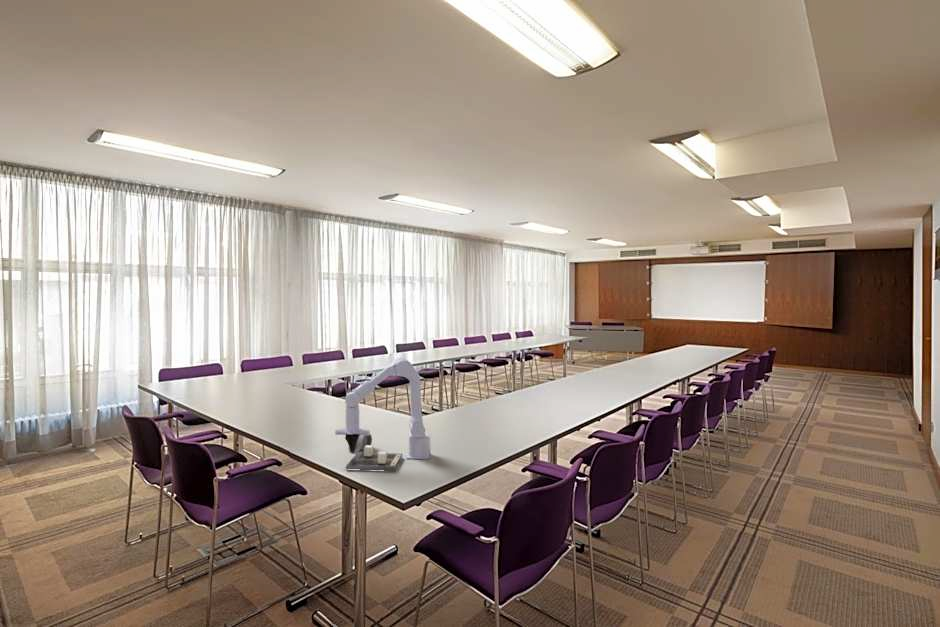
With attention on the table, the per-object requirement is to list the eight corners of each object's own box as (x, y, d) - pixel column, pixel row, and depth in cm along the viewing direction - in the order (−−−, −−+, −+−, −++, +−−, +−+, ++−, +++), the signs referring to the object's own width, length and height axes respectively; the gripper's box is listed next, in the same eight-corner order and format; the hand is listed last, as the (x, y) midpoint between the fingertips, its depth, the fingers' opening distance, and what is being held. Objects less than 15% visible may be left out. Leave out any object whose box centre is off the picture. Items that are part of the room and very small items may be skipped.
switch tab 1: (372, 454, 202) (372, 445, 202) (371, 456, 199) (371, 447, 199) (366, 453, 202) (366, 445, 202) (364, 456, 199) (364, 447, 199)
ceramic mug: (357, 445, 222) (357, 429, 221) (372, 447, 219) (372, 431, 218) (344, 452, 212) (343, 435, 212) (359, 454, 209) (358, 437, 208)
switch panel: (402, 458, 204) (402, 453, 204) (394, 471, 188) (394, 466, 188) (357, 457, 205) (357, 452, 205) (345, 470, 189) (345, 465, 189)
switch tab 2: (386, 460, 194) (386, 451, 193) (385, 463, 191) (385, 454, 190) (379, 460, 194) (379, 451, 194) (377, 463, 191) (377, 454, 191)
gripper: (332, 422, 197) (332, 453, 197) (366, 423, 196) (366, 454, 197) (338, 418, 204) (338, 448, 204) (370, 418, 203) (371, 449, 204)
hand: (352, 451), depth 201 cm, fingers closed
